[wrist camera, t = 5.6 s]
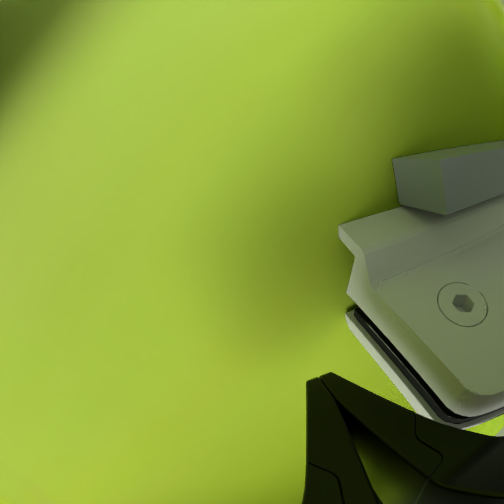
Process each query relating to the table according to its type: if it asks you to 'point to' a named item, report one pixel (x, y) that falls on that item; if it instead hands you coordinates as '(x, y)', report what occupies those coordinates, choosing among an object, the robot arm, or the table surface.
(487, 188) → the channel jig
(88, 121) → the table surface
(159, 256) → the table surface
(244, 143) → the table surface
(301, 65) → the table surface
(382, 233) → the hinge
